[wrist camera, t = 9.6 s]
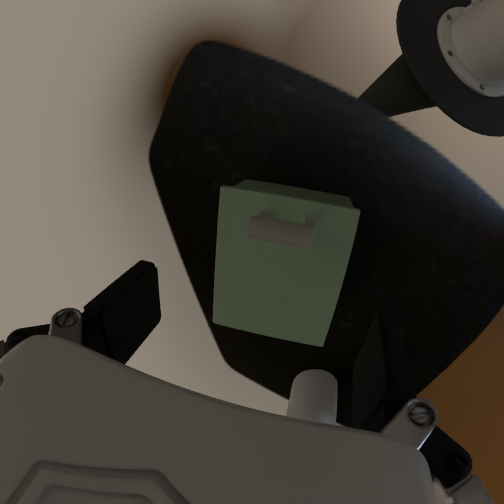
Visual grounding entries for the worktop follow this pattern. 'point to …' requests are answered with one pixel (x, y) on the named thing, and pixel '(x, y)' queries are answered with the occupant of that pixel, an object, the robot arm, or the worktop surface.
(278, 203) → the lid
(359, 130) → the worktop surface
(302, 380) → the milk bottle
